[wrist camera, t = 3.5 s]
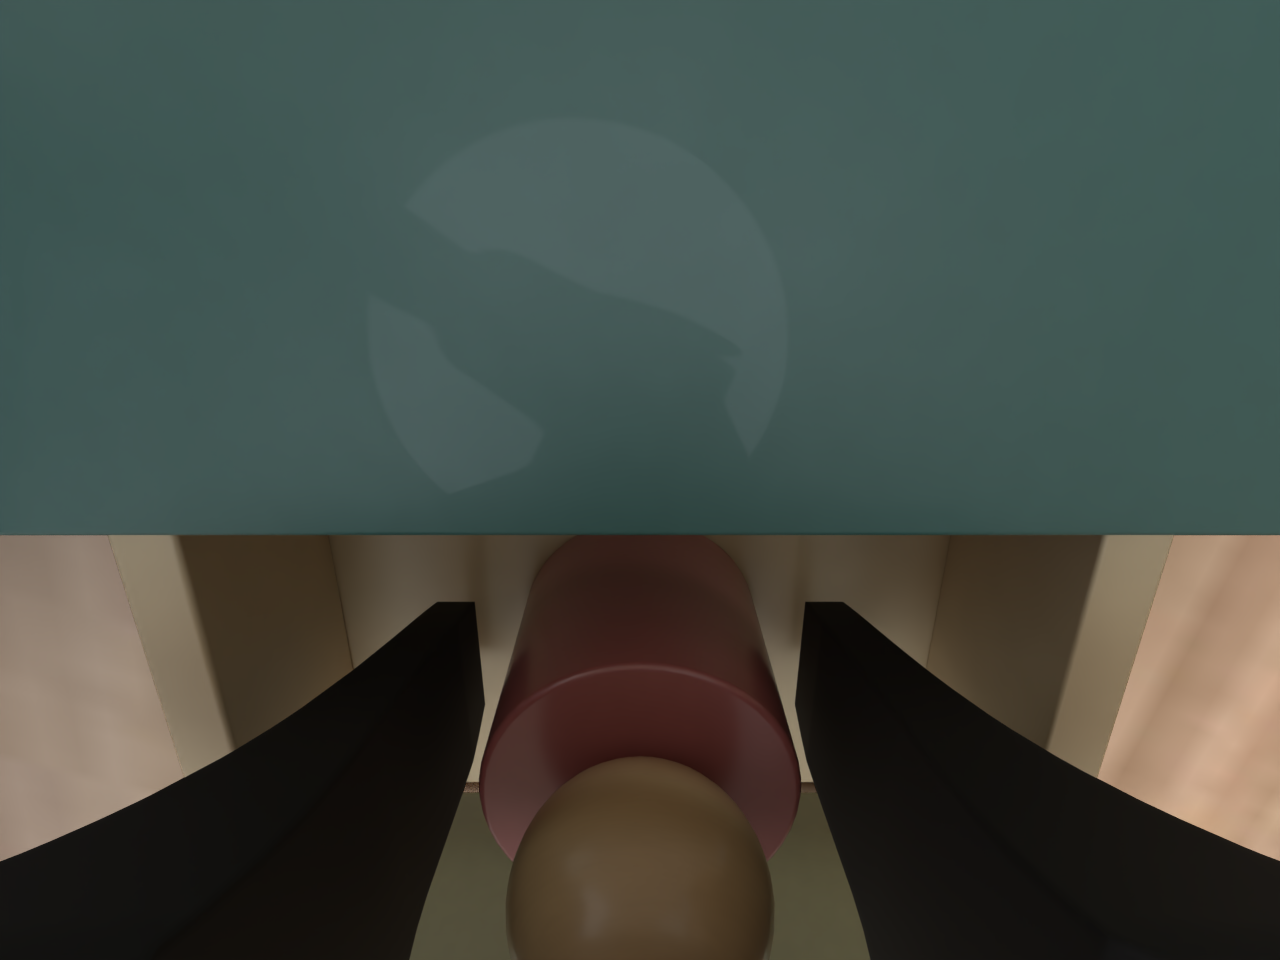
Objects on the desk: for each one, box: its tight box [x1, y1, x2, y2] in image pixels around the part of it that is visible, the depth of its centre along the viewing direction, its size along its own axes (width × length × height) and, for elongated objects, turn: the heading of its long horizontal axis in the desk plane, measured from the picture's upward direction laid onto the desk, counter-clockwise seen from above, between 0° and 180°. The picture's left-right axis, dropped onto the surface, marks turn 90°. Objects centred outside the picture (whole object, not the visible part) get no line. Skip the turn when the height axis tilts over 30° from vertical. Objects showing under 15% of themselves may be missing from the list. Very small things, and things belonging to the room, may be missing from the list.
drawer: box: [108, 535, 1174, 960], centre depth 12 cm, size 17×13×5 cm
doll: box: [479, 535, 801, 960], centre depth 9 cm, size 4×4×7 cm
